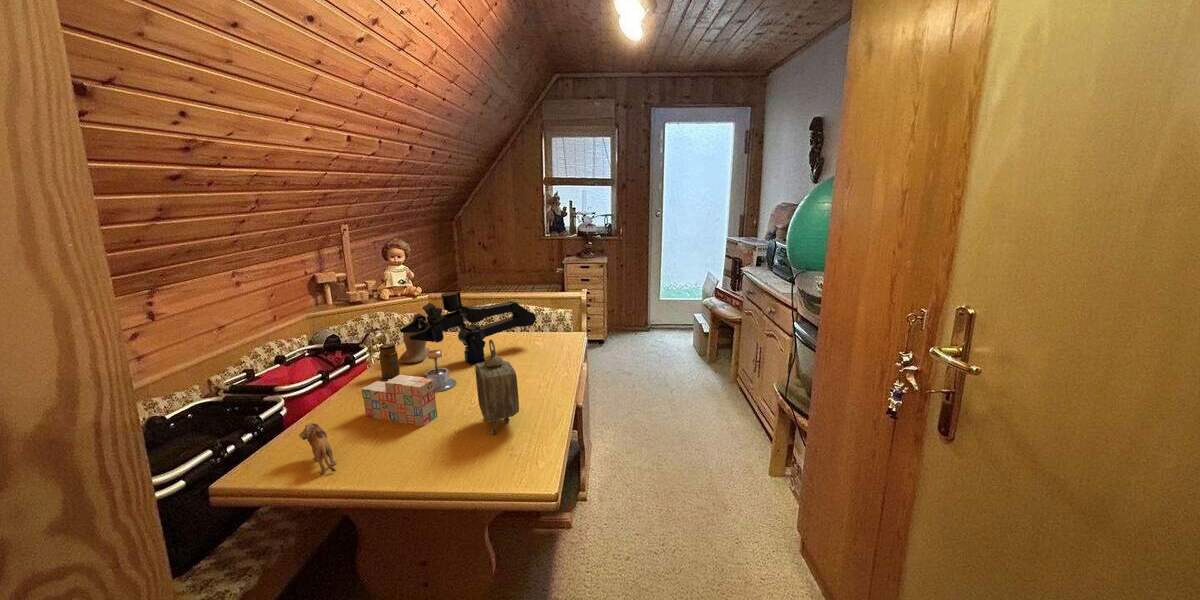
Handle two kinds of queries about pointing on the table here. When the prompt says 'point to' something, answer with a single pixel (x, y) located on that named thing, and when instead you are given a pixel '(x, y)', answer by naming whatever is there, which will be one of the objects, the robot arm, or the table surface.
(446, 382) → the carafe
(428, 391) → the stack of blocks
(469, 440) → the table surface
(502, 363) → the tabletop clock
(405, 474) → the table surface
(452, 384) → the coaster
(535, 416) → the table surface
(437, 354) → the plunger
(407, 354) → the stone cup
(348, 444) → the table surface
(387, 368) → the condiment
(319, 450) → the lion figurine
